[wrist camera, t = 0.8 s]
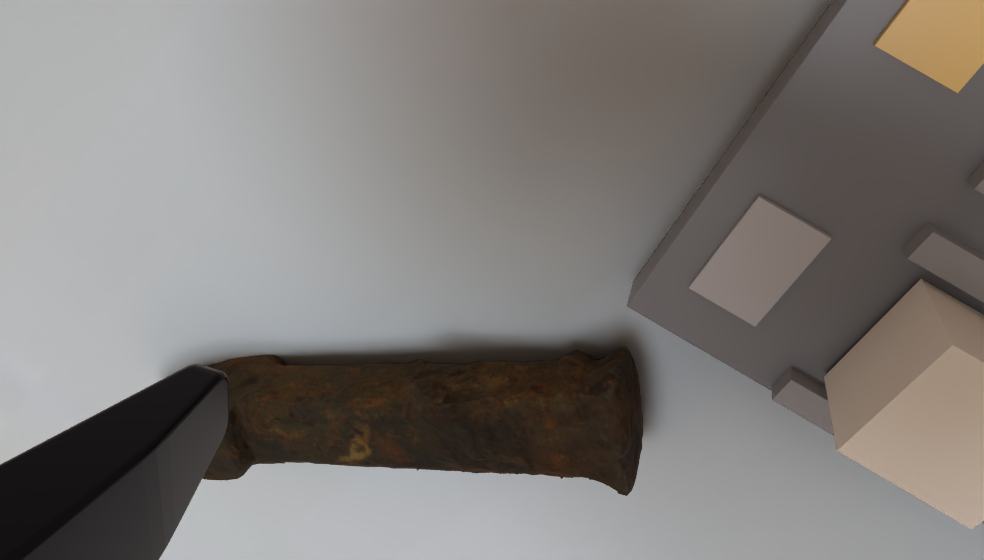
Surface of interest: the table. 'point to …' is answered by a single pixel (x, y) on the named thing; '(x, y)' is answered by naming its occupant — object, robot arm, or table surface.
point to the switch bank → (835, 199)
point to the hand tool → (438, 416)
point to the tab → (918, 401)
